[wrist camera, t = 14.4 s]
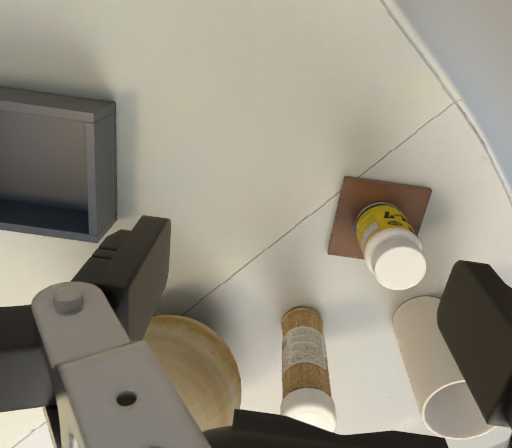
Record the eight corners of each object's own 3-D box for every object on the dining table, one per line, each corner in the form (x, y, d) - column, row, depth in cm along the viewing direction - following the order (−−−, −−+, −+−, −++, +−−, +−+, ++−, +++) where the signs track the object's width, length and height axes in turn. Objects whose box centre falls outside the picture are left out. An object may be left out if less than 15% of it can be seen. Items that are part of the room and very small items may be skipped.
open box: (-37, 80, 39) (-80, 88, 34) (116, 102, 39) (93, 113, 34) (-19, 201, 44) (-54, 222, 39) (117, 220, 44) (97, 243, 39)
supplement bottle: (415, 217, 41) (445, 262, 33) (383, 254, 43) (405, 304, 35) (374, 191, 40) (395, 231, 33) (343, 230, 42) (357, 276, 34)
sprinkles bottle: (312, 344, 49) (322, 452, 37) (274, 330, 48) (271, 435, 36) (330, 313, 47) (347, 416, 35) (291, 299, 46) (294, 398, 34)
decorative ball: (135, 395, 54) (85, 523, 40) (98, 293, 47) (24, 403, 34) (256, 386, 52) (247, 516, 38) (234, 278, 46) (213, 388, 32)
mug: (428, 354, 48) (470, 450, 38) (376, 329, 47) (405, 421, 37) (489, 286, 44) (556, 373, 34) (434, 258, 43) (485, 338, 33)
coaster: (344, 176, 40) (345, 178, 40) (430, 188, 40) (432, 190, 40) (327, 251, 44) (328, 254, 43) (406, 262, 44) (408, 265, 43)
